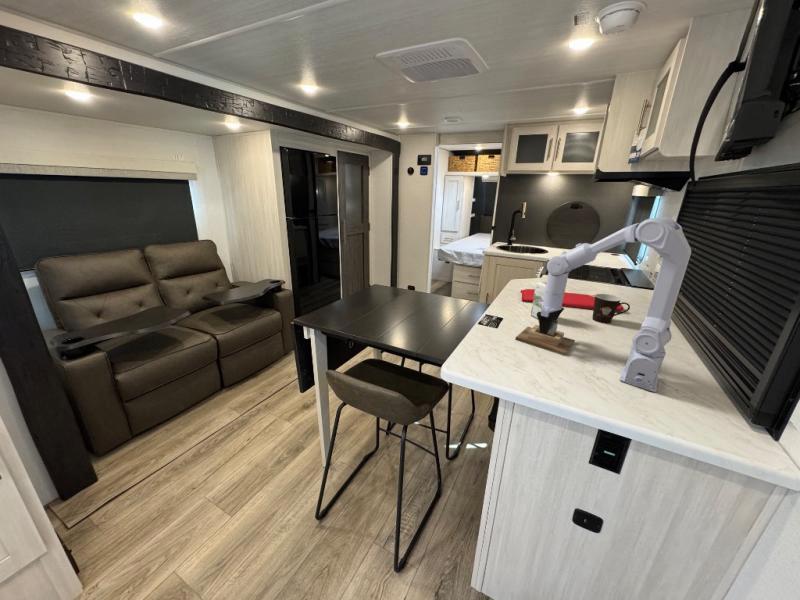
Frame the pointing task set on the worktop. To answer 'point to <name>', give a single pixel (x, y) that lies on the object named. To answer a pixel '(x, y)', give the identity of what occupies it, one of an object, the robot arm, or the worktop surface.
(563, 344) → the slot block
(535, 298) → the syrup box
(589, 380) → the worktop surface
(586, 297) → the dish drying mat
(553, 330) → the brushed grey block
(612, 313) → the coffee mug
